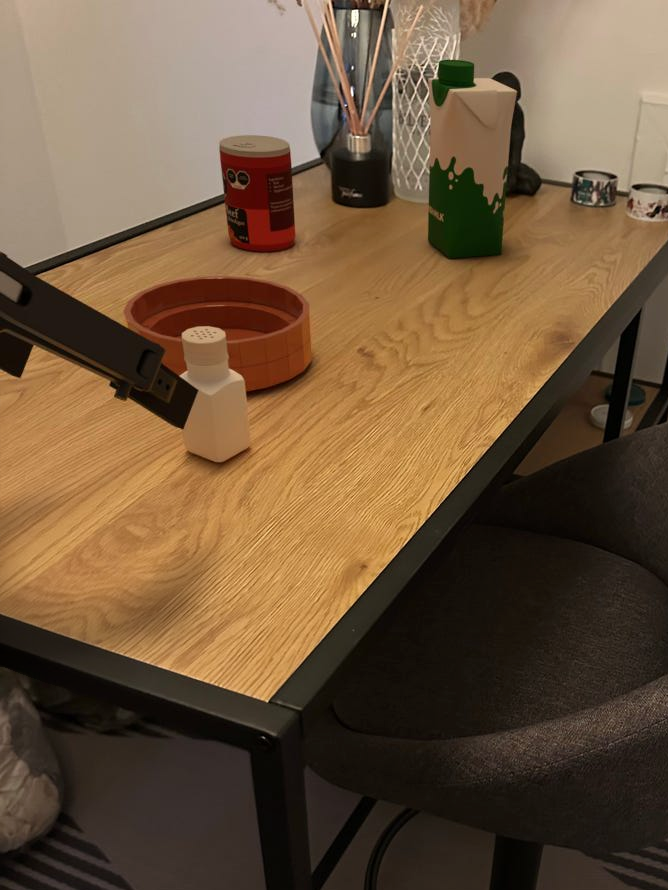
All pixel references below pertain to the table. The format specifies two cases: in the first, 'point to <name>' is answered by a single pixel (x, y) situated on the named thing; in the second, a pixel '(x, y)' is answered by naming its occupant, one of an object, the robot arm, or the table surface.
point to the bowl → (229, 324)
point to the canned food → (258, 192)
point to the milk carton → (468, 160)
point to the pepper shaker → (214, 397)
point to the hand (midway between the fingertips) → (102, 383)
